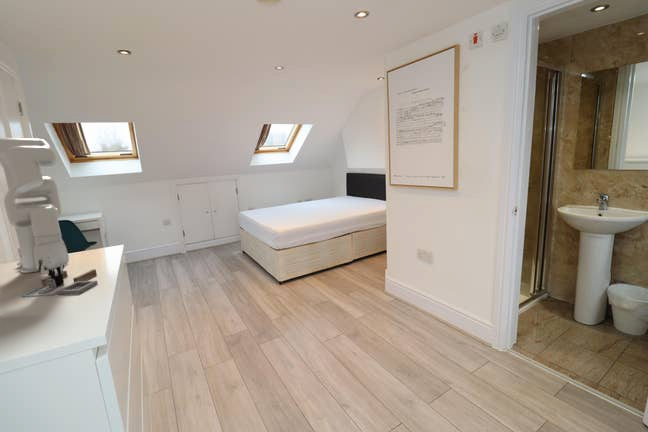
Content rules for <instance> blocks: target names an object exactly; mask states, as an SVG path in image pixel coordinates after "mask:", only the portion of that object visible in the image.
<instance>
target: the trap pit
mask: <svg viewBox="0 0 648 432" xmlns="http://www.w3.org/2000/svg"><path fill="white" fill-rule="evenodd" d="M97 285H98V280H85V281H77V282H75V283H74V282H73V283H71V284H68V285H67V286H64V287H63V288H61V289H58V290H56V292H57V294H56V296H57V295H58V296H67V295H68V296H69V295H70V294H71V295H80V294H82V293H84V292H86V291H88V290H90V289H92V288H93V287H95V286H97Z"/></svg>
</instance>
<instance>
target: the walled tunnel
mask: <svg viewBox="0 0 648 432" xmlns="http://www.w3.org/2000/svg"><path fill="white" fill-rule="evenodd" d="M62 275H63V279H64V278H66V277H68V272H67V270H63V273H62ZM95 276H97V270H96V268H95V269H94V268H93V269H92V268H91V269H90V270H87V271H86V272H84V273H82V274H79V275H77V276H75V277H73V278H72V280H73V283H75V282H77V281H88V280H89V279H91V278H93V277H95ZM47 279H51V276H49V275H48V276H47V277H45V278H41V283H42V286H45V287H46V286H47V287H48V285H47V283H46V280H47ZM48 282H52V280H48Z"/></svg>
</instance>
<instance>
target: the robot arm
mask: <svg viewBox="0 0 648 432" xmlns="http://www.w3.org/2000/svg"><path fill="white" fill-rule="evenodd" d="M56 164H57V156H56V153H55V151H54V150H53V148H52V147H51V145H50V144H49V143H48V142H47V141H46V140H44V139H42V138H29V137H28V138H21V137H0V165H1V167H2V169H3V170H4V171H3V172H4V175H5V180H6V184H7V188H8V190H7V192H6V194H5V196H4V199H3V200H4V201H3V202H4V208H5V211H6V215H7V219H8V220H9V221H8V222H9V223H10V225H11V226H12V227H14V229H15V233H16V237H17V242H18V244H19V245H18V246H19V248H20V250H21V254H22V258H23V260H19V262H17V263H16V266H21V268H20V273H23V274H27V273H29V274H30V273H35V272H40V274H41V275H48V277H49V276H51V279H54V280H55V283H56V285H61V284H65V280H64V278H63V275H62V273H63V271H64V270H65V267H67V266H68V265H69V262H70V260H69V259H70V258H69V252H68V249H67V247H66V244H65V242H64V239H63V238H62V237H63V236H62V232H61V228H60V223H59V218H61V217H62V207H61V201H60V197H59V191H58V190H59V189H58V187H57V183H56V182H55V180H54V178H52V177H50V176H43V173H42V171H41V167H54V166H55V165H56ZM36 198H45V199H42V200H41V199H40V200H28V201H19V202H15V201H16V199H17V200H26V199H36ZM52 282H53V280H52Z"/></svg>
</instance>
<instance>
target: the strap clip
mask: <svg viewBox="0 0 648 432" xmlns="http://www.w3.org/2000/svg"><path fill="white" fill-rule="evenodd" d="M48 280H53V282H48ZM46 283H47V287H44V288H42V289H40V291H39V290H38V295H41V294H49V293H50V292H52V291H54V290H55V289H58V288H61V287H63V286H64V285H65V283H63V284H61V285H56V283H55V280H54V279H47V280H46Z"/></svg>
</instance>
